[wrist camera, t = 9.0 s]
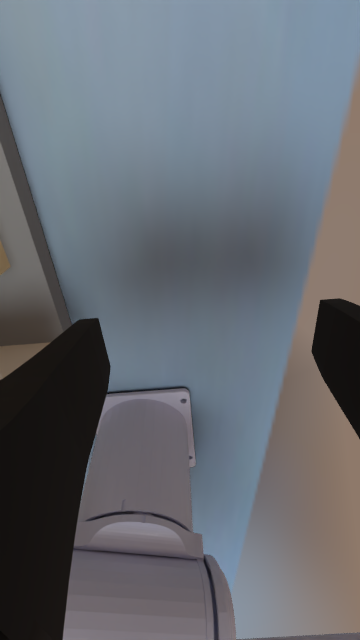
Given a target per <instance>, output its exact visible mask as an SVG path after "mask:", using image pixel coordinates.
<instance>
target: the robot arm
mask: <svg viewBox="0 0 360 640" xmlns="http://www.w3.org/2000/svg"><path fill="white" fill-rule="evenodd" d="M312 354H313V356H314V359H315V361H316V364H317V366H318V369H319V371H320V373H321V375H322V377H323V379H324V381H325V383H326V384H327V386H328V388H329V389H330V391H331V393H332V394H333V396H334V397H335V399H336V400H337V402H338V404H339V406H340V407H341V409H342V411H343V412H344V414H345V415H346V417H347V419H348V420H349V422H350V424H351V425H352V427H353V429H354V430H355V432H356V433H357V435H358V437H359V439H360V306H359V305H356V304H354V303H351V302H349V301H346V300H343V299H327V300H320V304H319V310H318V316H317V322H316V327H315V333H314V340H313V345H312ZM109 375H110V363H109V359H108V355H107V351H106V347H105V343H104V339H103V335H102V331H101V327H100V323H99V319H98V318H93V319H81V320H78V321H77V322H76V323H74V324H73V325H72V326H70V327H69V328H68V329H66V330H65V331H64V332H63V333H62V334H60V335H59V336H58V337H57V338H55V339H54V340H53V341H52V342H51V343H49V344H48V345H47V346H46V347H44V348H43V349H42V350H41V351H39V352H38V353H37V354H36V355H34V356H33V357H32V358H30V359H29V360H28V361H26V362H25V363H24V364H22V365H21V366H20V367H18V368H17V369H15V370H14V371H13V372H11V373H10V374H9V375H7V376H6V377H4V378H3V379H1V380H0V640H360V633H344V634H325V635H308V636H290V637H272V638H255V639H254V638H253V639H236V630H235V618H234V610H233V604H232V598H231V593H230V589H229V586H228V583H227V580H226V577H225V575H224V573H223V572H222V570H221V569H220V567H219V565H218V563H217V561H216V560H215V558H214V557H213V556H211V555H206V554H203V542H202V535H201V534H198V533H193V526H192V506H191V487H190V467H194V466H195V465H196V460H195V449H194V438H193V427H192V416H191V405H190V394H189V391H188V390H187V389H184V388H181V389H168V390H155V391H142V392H128V393H115V394H107V390H108V383H109ZM182 399H185V400H182ZM95 434H97V439H96V443H95V447H94V451H93V455H92V459H91V463H90V467H89V471H88V475H87V479H86V483H85V487H84V491H83V495H82V490H83V484H84V479H85V473H86V468H87V464H88V459H89V455H90V452H91V448H92V445H93V441H94V438H95ZM81 496H82V500H81ZM80 501H81V504H80Z"/></svg>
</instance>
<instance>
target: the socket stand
mask: <svg viewBox="0 0 360 640" xmlns="http://www.w3.org/2000/svg"><path fill="white" fill-rule="evenodd" d="M70 326H72V324H71V321H70V318H69V315H68V311H67V308H66V305H65V302H64V299H63V295H62V292H61V289H60V286H59V282H58V279H57V276H56V273H55V269H54V266H53V263H52V260H51V257H50V253H49V250H48V247H47V244H46V240H45V237H44V234H43V231H42V228H41V224H40V221H39V218H38V215H37V211H36V208H35V205H34V202H33V198H32V195H31V192H30V189H29V186H28V182H27V179H26V176H25V173H24V169H23V166H22V163H21V160H20V157H19V153H18V150H17V147H16V144H15V140H14V137H13V134H12V131H11V127H10V124H9V121H8V118H7V115H6V111H5V108H4V105H3V102H2V98H1V95H0V380H1V379H3V378H4V377H6V376H7V375H9V374H10V373H11V372H13V371H14V370H15V369H17V368H18V367H20V366H21V365H22V364H24V363H25V362H26V361H28V360H29V359H30V358H32V357H33V356H34V355H36V354H37V353H38V352H39V351H41V350H42V349H43V348H44V347H46V346H47V345H48V344H49V343H51V342H52V341H53V340H54V339H55V338H57V337H58V336H59V335H60V334H62V333H63V332H64V331H65V330H66V329H68V328H69V327H70Z"/></svg>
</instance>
